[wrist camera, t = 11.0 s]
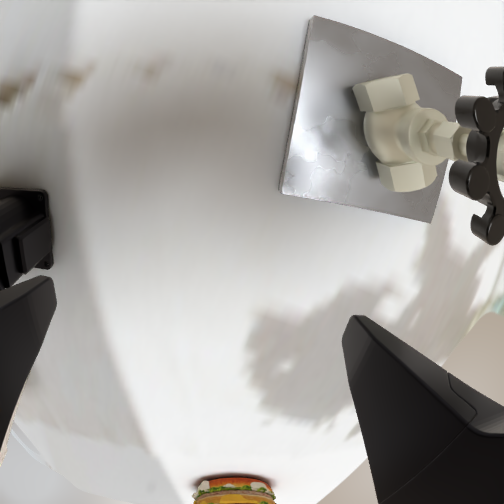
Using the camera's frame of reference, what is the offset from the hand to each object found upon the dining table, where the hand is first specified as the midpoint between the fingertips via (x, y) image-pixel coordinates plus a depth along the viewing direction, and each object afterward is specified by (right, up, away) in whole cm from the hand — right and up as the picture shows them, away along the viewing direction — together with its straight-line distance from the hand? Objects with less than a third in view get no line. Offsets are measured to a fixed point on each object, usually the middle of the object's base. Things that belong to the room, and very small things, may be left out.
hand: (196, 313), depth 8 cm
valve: (+10, +10, +9) cm, 17 cm away
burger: (-1, -37, +31) cm, 48 cm away
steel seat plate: (+10, +10, +10) cm, 18 cm away
